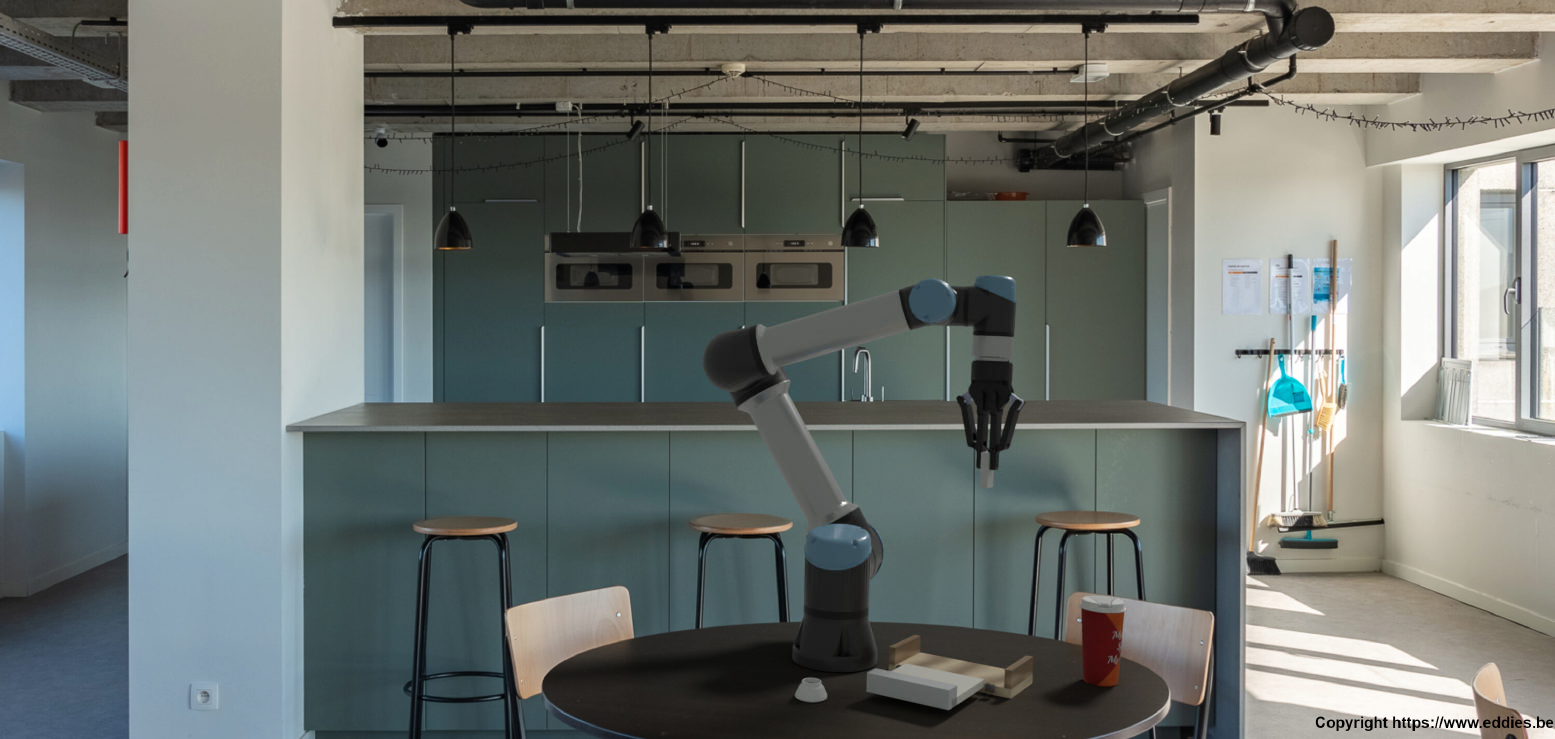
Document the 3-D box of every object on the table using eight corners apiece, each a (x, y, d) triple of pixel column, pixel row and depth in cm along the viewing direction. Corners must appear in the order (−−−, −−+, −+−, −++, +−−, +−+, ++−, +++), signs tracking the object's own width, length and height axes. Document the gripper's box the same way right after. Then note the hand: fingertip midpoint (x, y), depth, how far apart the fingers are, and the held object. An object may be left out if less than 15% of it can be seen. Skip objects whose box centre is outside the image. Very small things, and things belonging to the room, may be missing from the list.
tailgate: (905, 670, 175) (866, 691, 163) (906, 652, 175) (867, 672, 163) (984, 686, 167) (948, 710, 156) (984, 668, 167) (949, 690, 156)
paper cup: (1127, 690, 172) (1129, 606, 172) (1079, 686, 174) (1081, 603, 174) (1121, 676, 180) (1123, 596, 180) (1075, 672, 182) (1077, 593, 181)
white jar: (792, 694, 166) (799, 705, 161) (792, 676, 166) (800, 686, 161) (822, 693, 167) (830, 703, 162) (822, 675, 167) (831, 684, 162)
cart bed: (882, 675, 177) (883, 649, 177) (913, 659, 187) (914, 634, 187) (1006, 702, 165) (1006, 674, 165) (1032, 683, 175) (1033, 656, 175)
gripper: (1033, 361, 191) (1027, 489, 191) (968, 358, 198) (962, 482, 198) (1018, 360, 184) (1011, 493, 185) (951, 358, 192) (945, 485, 192)
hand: (986, 487), depth 192 cm, fingers closed
